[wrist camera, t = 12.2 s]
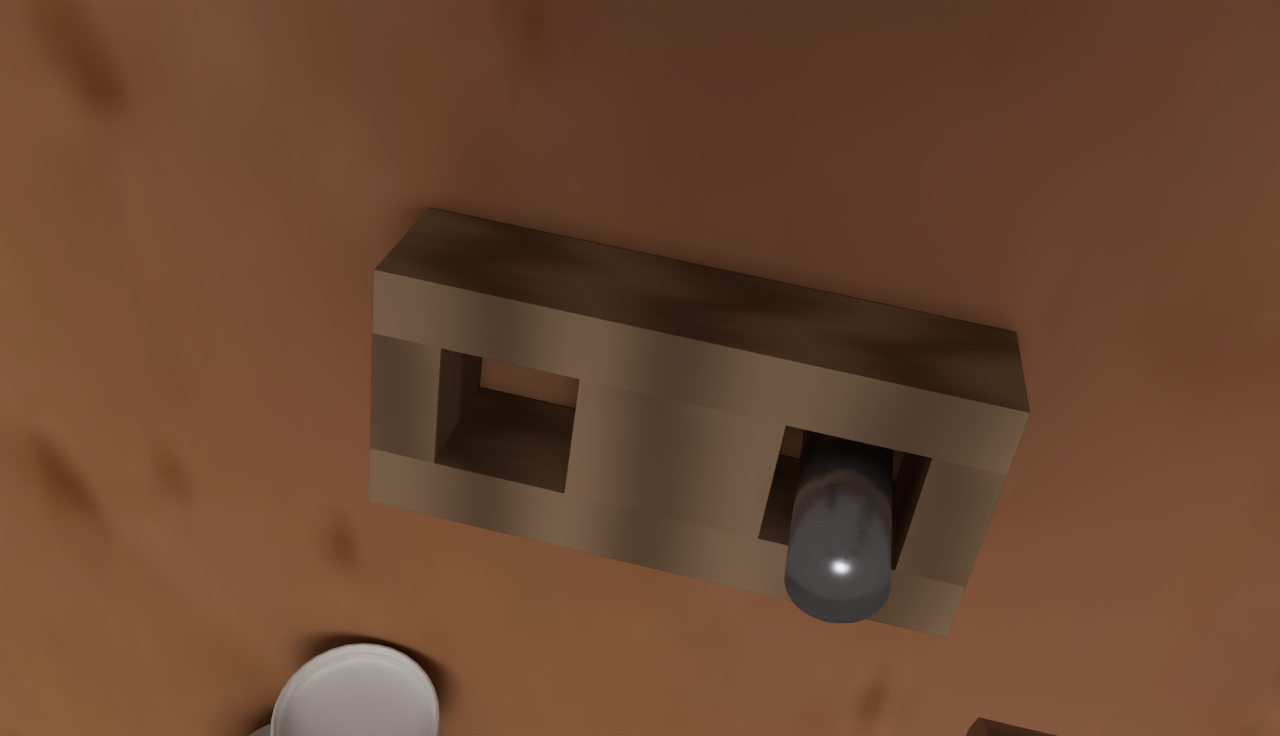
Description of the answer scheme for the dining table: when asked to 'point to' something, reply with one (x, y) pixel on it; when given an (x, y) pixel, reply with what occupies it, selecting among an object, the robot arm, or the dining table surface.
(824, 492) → the peg
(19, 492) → the dining table surface
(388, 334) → the block
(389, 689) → the spread jar
